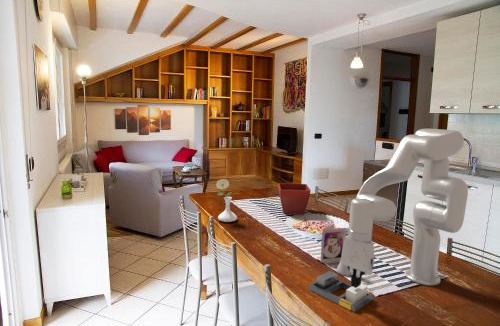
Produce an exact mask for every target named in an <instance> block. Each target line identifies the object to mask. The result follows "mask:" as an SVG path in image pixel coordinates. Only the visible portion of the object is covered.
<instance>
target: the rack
mask: <svg viewBox="0 0 500 326" xmlns="http://www.w3.org/2000/svg"><path fill="white" fill-rule="evenodd" d="M350 287H352V286H351V284H350V283H348V282H345V281H343V280H341V279H339V278H338V273H337V272H336V273H335V272H333V271H332V270H328V271H326V272H323V273H322V274H320V275H317V276H316V280H314V281H313V282H311V283H309V284H308V290H309V291H311V292H313V293H315V294H317V295H319V296H320V297H323V298H325V299H327V300H329V301H331V302H333V303H335V304H337V305H339V306H341V307H343V308H345V309H347V310H349V311H351V312H352V313H356V312H357V311H358V310H360V309H361V308H363V307H365V306H366V305H368V304H369V303H371V302H372V301H373V300H374V294H373V293H371V292H369V291H367V296H366V297H364V298H363V299H361V300H360V301H358V302H357V303H355V304H353V303H351V302H349V301H347V300H346V292H344V293H343V294H341V295H339V296H337V295H335V294H333V293H335V292H336V291H338V290H340V289H344V290H345V291H346V290H347V289H348V288H350Z"/></svg>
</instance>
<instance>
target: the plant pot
mask: <svg viewBox="0 0 500 326" xmlns="http://www.w3.org/2000/svg"><path fill="white" fill-rule="evenodd" d="M278 193H279V200H280V205H281V210H282V212H283V214H284V215H304V214H305V211H306V210H307V206H308V203H309V200H310V195H311V189H310V187H309V186H308V184H307V183H291V182H289V183H286V182H285V183H284V182H283V183H282V182H279V183H278Z"/></svg>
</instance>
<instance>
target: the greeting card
mask: <svg viewBox="0 0 500 326" xmlns="http://www.w3.org/2000/svg"><path fill="white" fill-rule="evenodd" d="M335 225H336V224H335V223H332V224H331V225H329V226H326V227H325V228H323V229H322V230H321V231H322V233H321V249H320V263H329V262H338V261H339V262H340V261H341V257H342V249H343V245H344V241H345V238H346V236H347V231H346V228H347V227H339V228H335Z"/></svg>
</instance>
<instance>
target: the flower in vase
mask: <svg viewBox="0 0 500 326" xmlns="http://www.w3.org/2000/svg"><path fill="white" fill-rule="evenodd" d="M215 186H216V188H217V189H220V190H222V192H221V191H219V192H217V194H216V195H217V196H220V197H221V196H223V199H224V201H225V209H224V211H223V212H221V213H219V215H218V217H217V219H218V220H219V221H221V222H225V223H230V222H235V221H236V220H237V219H238V216H237V215H236V214H235V213H234V212H233V211H231V206H230V205H231V201H232V199H233V197H232V196H231V195H232V193H233V191H231V192H228V193H227V194H226V193H225V191H224V190H225V189H228V187H229V186H230V182H229V180H228V179H226V178H220V179H219V180H217V182H216V183H215ZM224 196H225V197H224Z"/></svg>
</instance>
